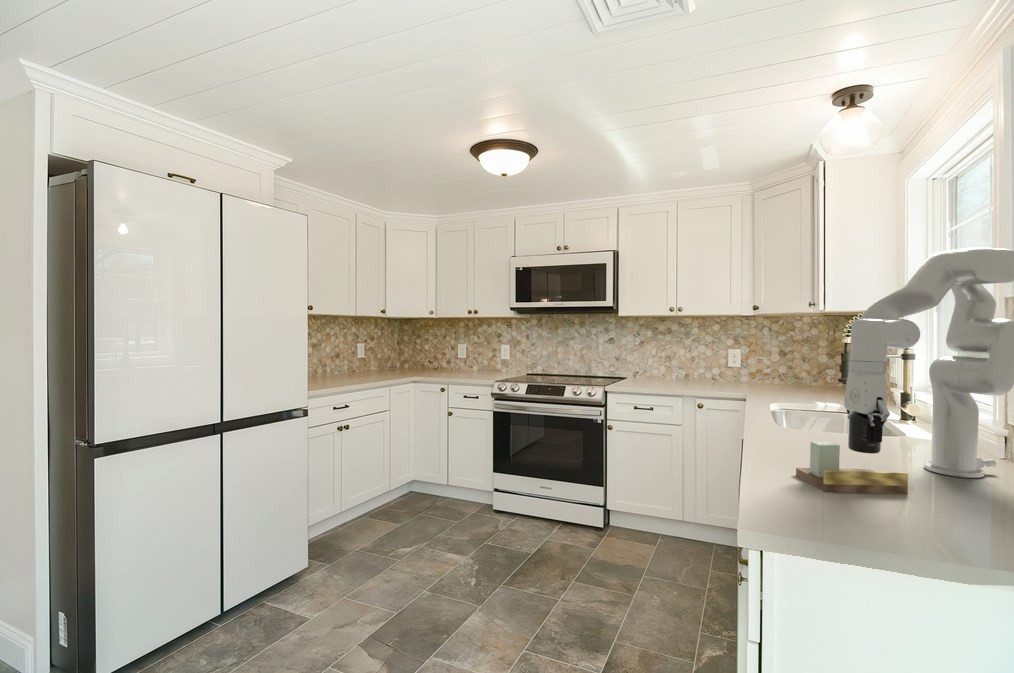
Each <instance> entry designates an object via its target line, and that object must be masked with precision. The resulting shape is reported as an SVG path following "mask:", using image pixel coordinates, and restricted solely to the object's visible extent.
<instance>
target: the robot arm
mask: <svg viewBox="0 0 1014 673" xmlns="http://www.w3.org/2000/svg"><path fill="white" fill-rule="evenodd" d="M1013 282H1014V249H1009V248H1008V249H1007V248H991V247H969V248H960V249H959V248H958V249H951V250H944V251H943V250H942V251H938V252H935V253H933V254H931V255H930V256H929V257H928V258H927V259H926V260H925V261H924V262H923V263H922V264H921V266H920V267H919V268H918V270H917V271H916V272H915V273H914V274H913V276H912V277H911V278H910V279H909V280H908V282H907V284H905V285H904V286H903V287H902V288H900V289H897V290H896V291H894V292H892V293H890V294H888V295H887V296H885V297H883V298H881V299H879V300H878V301H876V302H874V303H873V304H872V305H870V306H869V307H868V308H867V309H865V311H864V312H863V313H862V315H861V316H860V317H859V318H857V319H855V320H853V321H852V322H851V326H850V352H849V371H848V374H847V379H846V383H845V390H844V391H845V392H844V404H843V406H844V409H845V410H846V413H847V419H848V420H849V416H850V414H852V413H854V412H856V413H860V414H865V415H868V419H869V423H870V426H868V434H867V441H868V442H881V443H882V442H883V430H884V429H883V427H885V423H886V422H887V419H888V418H889V417H890V415H891V412H890V410H889V409H888V407H887V406H888V390H887V388H888V387H887V380H886V375H887V373H886V372H887V352H888V351H887V350H888V349H895V350H896V349H897V350H903V349H909V348H911V347H914V346H915V345H916V344H918V342H919V341H920V338H921V330H920V327H919V326H918V325H917V324H916V323H915V322H913V321H911V320H909V319H903V318H904V317H908V316H912V315H916V314H919V313H922V312H925V311H928V310H931V309H933V308H935V307H937V306H938V305H939V304H940V303H941V302H942V300H943V299H944V297H945V296H946V295H947V294H948V293H949V291H950V290H951V292H952V293H953V297H954V303H955V304H954V307H953V312H952V316H951V318H950V322H949V324H948V329H947V333H946V339H945V340H946V341H945V343H946V346H947V348H948V349H949V350H951V351H953V352H957V353H961V354H972V355H987V356H988V357H976V356H963V355H962V356H961V355H960V356H959V355H958V356H957V355H947V356H945V355H944V356H941V357H938V358H936V359H934V360H933V362H931V364H930V366H929V370H928V374H929V381H930V385H931V390H932V391H931V392H932V419H931V420H932V425H931V427H932V428H931V456H930V457H931V459H930V461H926V462H924V463H923V468H924V469H926V470H928V471H930V472H933V473H936V474H940V475H945V476H950V477H957V478H965V479H966V478H968V479H977V478H979V479H980V478H983V477H985V471H984V470H983V469H982V468H984V467H987V468H988V467H989V468H990V467H992V468H993V467H996V465H997V462H996V460H994V459H982V457H979V456H978V445H979V443H978V442H979V418H980V417H979V416H980V410H979V405H978V403H977V402H976V401H975V399H974V397H973V396H972V395H971V394H977V395H986V396H1003V395H1004V396H1005V395H1006V394H1008V393H1009V392H1011V390H1012V389H1013V387H1014V320H1013V319H1010V318H1009V319H1008V318H994V317H995V313H996V309H997V302H996V299H995V297H994V296H993V295H992V294H991V292H989V290H988V289H987V288H986V287H985V286H984V285H988V284H1006V283H1013ZM872 412H876V413H872ZM873 417H876V418H875V420H874V418H873Z"/></svg>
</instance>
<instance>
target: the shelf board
mask: <svg viewBox="0 0 1014 673" xmlns="http://www.w3.org/2000/svg"><path fill="white" fill-rule="evenodd" d="M796 475H797V476H796ZM795 476H796V477H798V478H800V479H802V480H803V479H804V480H803V481H805V482H806V483H808V482H809V484H811V485H812V486H814V487H815V488H817V489H819V490H820V489H821V491H822V492H824V493H826V492H834V494H835V493H836V494H837V493H838V494H840V493H841V494H879V495H880V494H882V495H884V494H885V495H886V494H887V495H897V494H898V495H908V494H909V493H908V492H909V473H908V472H906V471H875V470H873V469H870V468H839V471H824V477H818V476H816V475H814V474H812V473H810V467H796V468H795Z"/></svg>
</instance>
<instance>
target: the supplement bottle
mask: <svg viewBox="0 0 1014 673" xmlns="http://www.w3.org/2000/svg"><path fill="white" fill-rule="evenodd" d="M872 413H876V412H872ZM873 418H874V420H875V418H876V417H873ZM868 426H870V423H869V419H868V415H865V414H860V413H856V412H854V413H852V414H850V416H849V419H848V438H847V439H848V440H847V441H848V442H847V447H848V449H849V450H851V451H853V452H856V453H863V454H879V453H880V452H881V446H882V442H868V441H867V434H868Z"/></svg>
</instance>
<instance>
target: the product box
mask: <svg viewBox="0 0 1014 673" xmlns="http://www.w3.org/2000/svg"><path fill="white" fill-rule="evenodd" d="M840 446H841V445H839V444H837V443H834V442H832V441H810V451H809V452H810V454H809V455H810V457H809V468H810V473H812V474H814V475H816V476H818V477H824V471H839V469H840V457H841V456H840V455H841V454H840V452H841V451H840V449H841V448H840Z"/></svg>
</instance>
